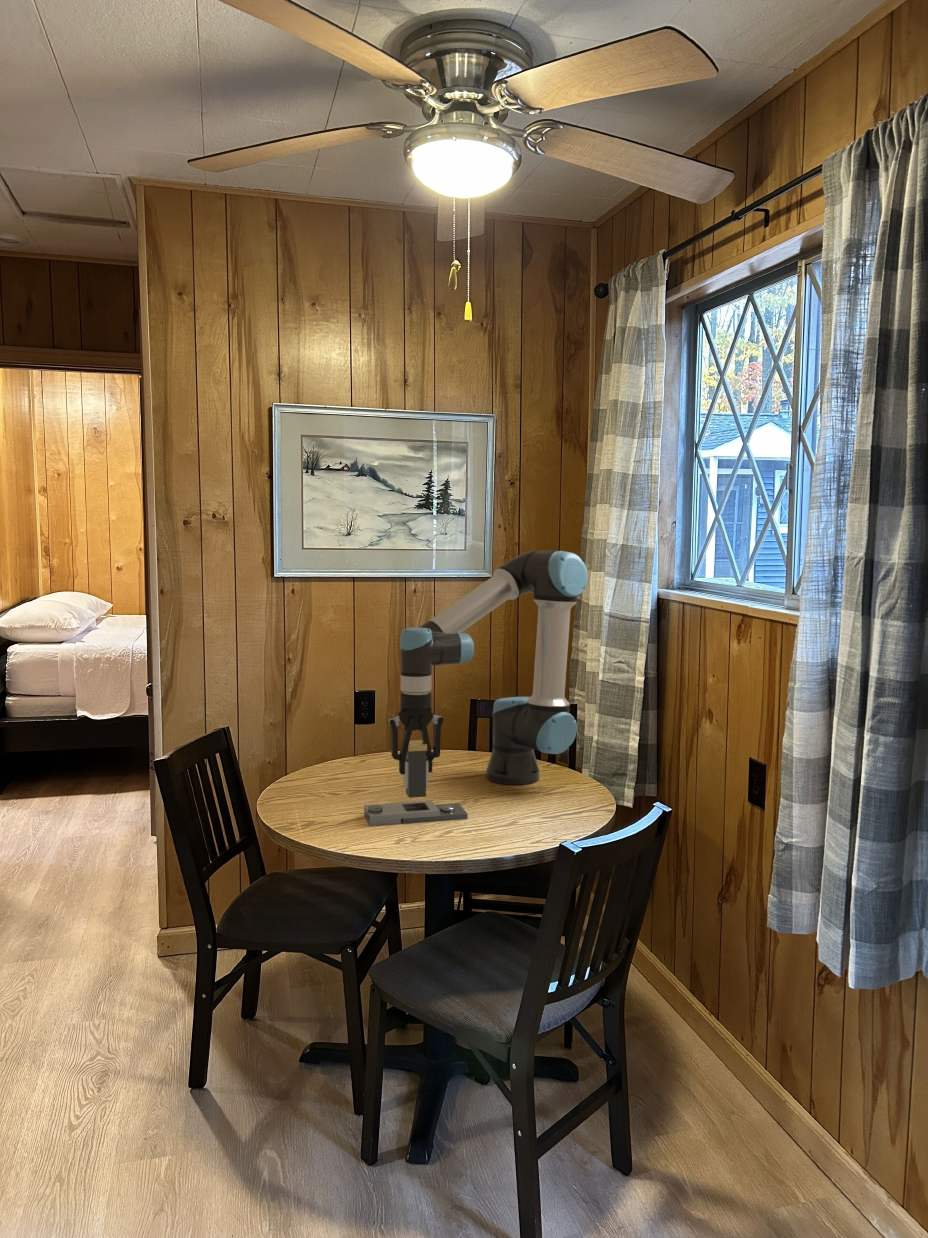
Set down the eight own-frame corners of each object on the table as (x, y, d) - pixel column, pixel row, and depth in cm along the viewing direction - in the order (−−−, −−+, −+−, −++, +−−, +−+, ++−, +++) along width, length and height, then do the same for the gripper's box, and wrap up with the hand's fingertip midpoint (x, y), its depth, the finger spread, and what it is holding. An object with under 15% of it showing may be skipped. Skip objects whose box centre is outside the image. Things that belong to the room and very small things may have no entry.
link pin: (422, 791, 225) (423, 740, 224) (426, 796, 221) (427, 744, 220) (404, 792, 224) (404, 741, 223) (408, 798, 220) (408, 745, 218)
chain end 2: (458, 807, 230) (458, 800, 230) (467, 818, 222) (467, 811, 222) (396, 812, 226) (396, 805, 226) (403, 823, 218) (403, 816, 218)
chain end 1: (431, 809, 229) (431, 798, 228) (439, 820, 220) (439, 808, 220) (364, 814, 224) (364, 802, 224) (369, 826, 216) (369, 814, 215)
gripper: (447, 687, 226) (446, 779, 228) (378, 690, 221) (378, 784, 224) (454, 693, 219) (453, 788, 221) (383, 696, 214) (383, 793, 217)
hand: (415, 786), depth 222 cm, fingers closed on link pin, 4 cm apart
